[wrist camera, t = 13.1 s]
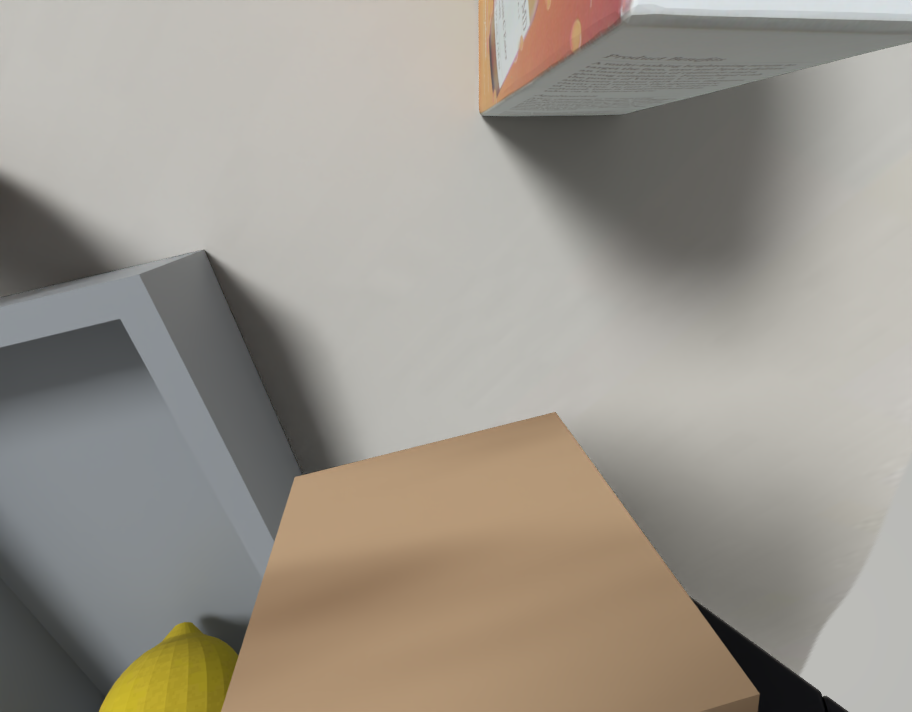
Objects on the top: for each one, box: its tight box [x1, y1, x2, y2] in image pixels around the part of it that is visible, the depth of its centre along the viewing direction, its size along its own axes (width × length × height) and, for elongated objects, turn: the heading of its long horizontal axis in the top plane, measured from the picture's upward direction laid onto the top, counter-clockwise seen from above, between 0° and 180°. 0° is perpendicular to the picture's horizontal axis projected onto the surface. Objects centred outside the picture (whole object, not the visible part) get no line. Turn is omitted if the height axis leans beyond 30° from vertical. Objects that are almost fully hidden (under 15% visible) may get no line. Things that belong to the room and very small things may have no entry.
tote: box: [0, 250, 302, 712], centre depth 17 cm, size 21×14×4 cm, turn 12°
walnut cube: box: [221, 412, 760, 712], centre depth 7 cm, size 5×5×5 cm
